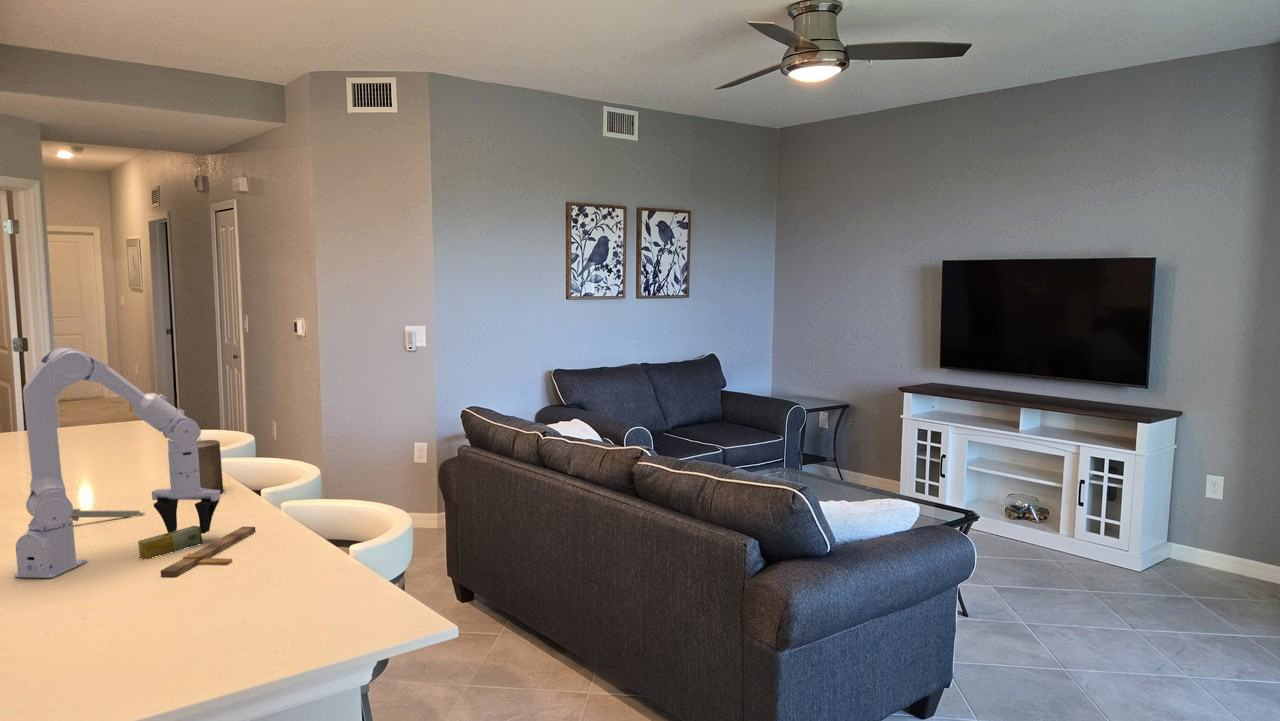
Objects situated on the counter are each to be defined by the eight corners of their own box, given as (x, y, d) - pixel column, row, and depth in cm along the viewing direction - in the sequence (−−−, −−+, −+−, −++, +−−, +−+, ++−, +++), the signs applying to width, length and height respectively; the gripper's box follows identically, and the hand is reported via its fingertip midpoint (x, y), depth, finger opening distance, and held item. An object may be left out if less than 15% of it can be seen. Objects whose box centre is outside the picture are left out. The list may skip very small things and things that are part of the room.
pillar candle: (231, 489, 226) (227, 435, 224) (209, 499, 216) (204, 442, 215) (197, 489, 227) (193, 435, 225) (174, 499, 217) (169, 442, 216)
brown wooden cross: (205, 577, 160) (204, 570, 159) (160, 576, 160) (159, 569, 160) (280, 532, 187) (280, 525, 187) (242, 531, 188) (242, 525, 188)
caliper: (43, 533, 190) (40, 506, 189) (43, 531, 191) (40, 505, 190) (146, 515, 203) (144, 490, 202) (145, 514, 204) (143, 489, 203)
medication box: (196, 542, 182) (195, 524, 181) (203, 544, 180) (201, 526, 180) (138, 559, 172) (137, 540, 171) (145, 561, 170) (143, 542, 170)
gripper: (226, 467, 184) (230, 526, 186) (165, 466, 186) (169, 525, 187) (207, 474, 177) (211, 536, 179) (143, 474, 179) (148, 535, 180)
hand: (188, 531), depth 182 cm, fingers open, 7 cm apart
